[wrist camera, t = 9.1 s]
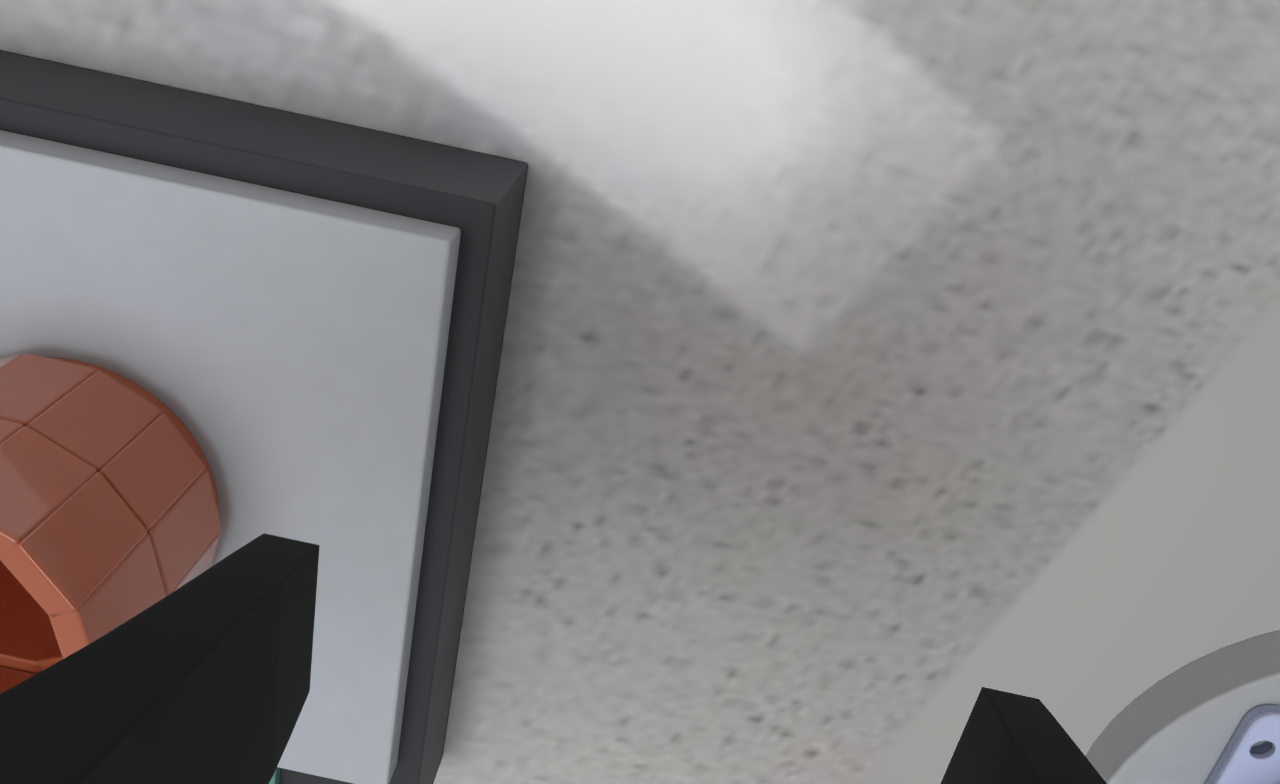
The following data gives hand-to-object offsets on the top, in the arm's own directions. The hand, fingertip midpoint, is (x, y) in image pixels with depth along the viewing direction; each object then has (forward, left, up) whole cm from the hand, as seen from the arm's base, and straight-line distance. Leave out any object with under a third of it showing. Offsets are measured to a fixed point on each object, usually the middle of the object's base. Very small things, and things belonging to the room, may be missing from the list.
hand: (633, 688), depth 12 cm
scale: (-4, +10, -10) cm, 15 cm away
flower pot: (-4, +10, -7) cm, 13 cm away
